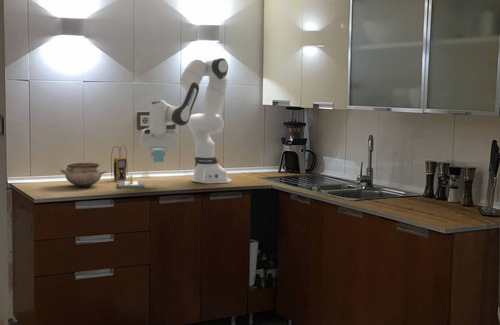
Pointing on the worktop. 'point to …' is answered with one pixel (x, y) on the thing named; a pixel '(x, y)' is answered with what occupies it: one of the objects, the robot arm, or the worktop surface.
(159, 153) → the block
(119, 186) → the header board
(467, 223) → the worktop surface
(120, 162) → the multimeter
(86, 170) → the cooking pot
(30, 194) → the worktop surface
